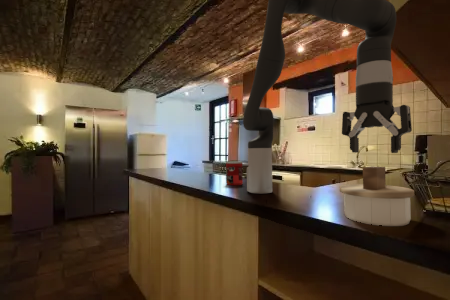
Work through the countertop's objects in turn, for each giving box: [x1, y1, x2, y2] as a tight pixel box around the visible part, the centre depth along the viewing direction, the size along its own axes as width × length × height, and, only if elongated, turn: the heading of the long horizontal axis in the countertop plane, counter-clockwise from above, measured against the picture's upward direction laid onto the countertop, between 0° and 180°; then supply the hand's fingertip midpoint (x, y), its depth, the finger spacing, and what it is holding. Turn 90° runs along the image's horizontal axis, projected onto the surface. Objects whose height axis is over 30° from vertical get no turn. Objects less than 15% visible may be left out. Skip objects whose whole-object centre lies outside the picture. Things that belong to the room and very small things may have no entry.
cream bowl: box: [343, 193, 412, 227], centre depth 59 cm, size 13×13×6 cm
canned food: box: [225, 161, 244, 186], centre depth 121 cm, size 8×8×11 cm
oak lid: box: [339, 165, 415, 199], centre depth 59 cm, size 15×15×6 cm
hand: (373, 152), depth 59 cm, fingers open, 8 cm apart
